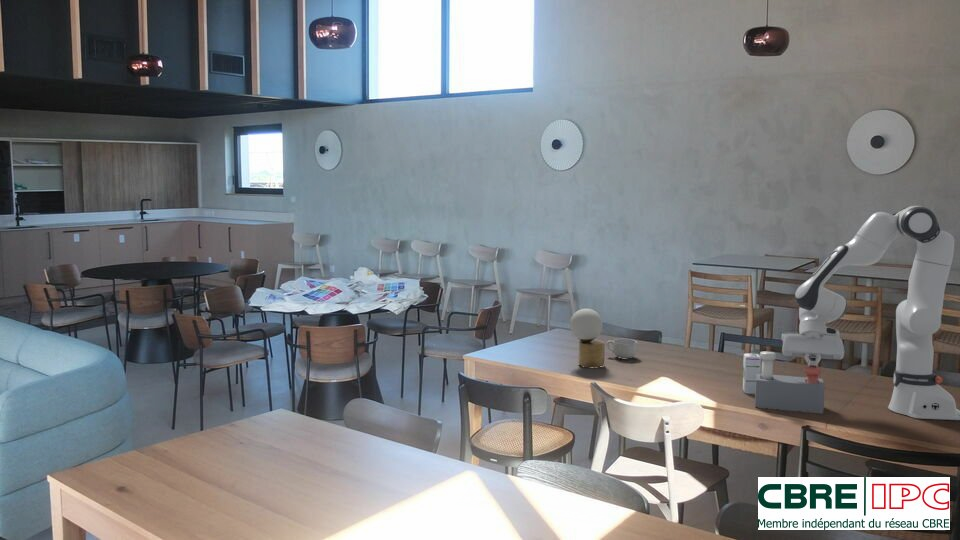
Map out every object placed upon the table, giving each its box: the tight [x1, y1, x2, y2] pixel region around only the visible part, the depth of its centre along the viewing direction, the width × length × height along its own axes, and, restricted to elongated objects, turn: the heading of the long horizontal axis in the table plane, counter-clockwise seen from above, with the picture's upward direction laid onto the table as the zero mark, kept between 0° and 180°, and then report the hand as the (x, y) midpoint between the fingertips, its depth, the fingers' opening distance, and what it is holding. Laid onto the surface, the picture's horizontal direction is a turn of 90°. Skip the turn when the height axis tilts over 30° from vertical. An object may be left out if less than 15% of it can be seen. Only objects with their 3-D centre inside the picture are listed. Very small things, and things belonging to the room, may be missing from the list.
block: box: [754, 373, 826, 415], centre depth 271 cm, size 22×10×10 cm, turn 70°
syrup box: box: [742, 352, 762, 395], centre depth 289 cm, size 6×6×14 cm
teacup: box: [605, 337, 638, 359], centre depth 348 cm, size 14×11×8 cm
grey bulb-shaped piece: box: [759, 350, 777, 379], centre depth 272 cm, size 5×5×14 cm
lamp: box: [569, 308, 606, 368], centre depth 332 cm, size 15×14×25 cm
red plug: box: [804, 365, 822, 383], centre depth 268 cm, size 5×5×14 cm
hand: (812, 366), depth 266 cm, fingers closed, pressing on red plug
